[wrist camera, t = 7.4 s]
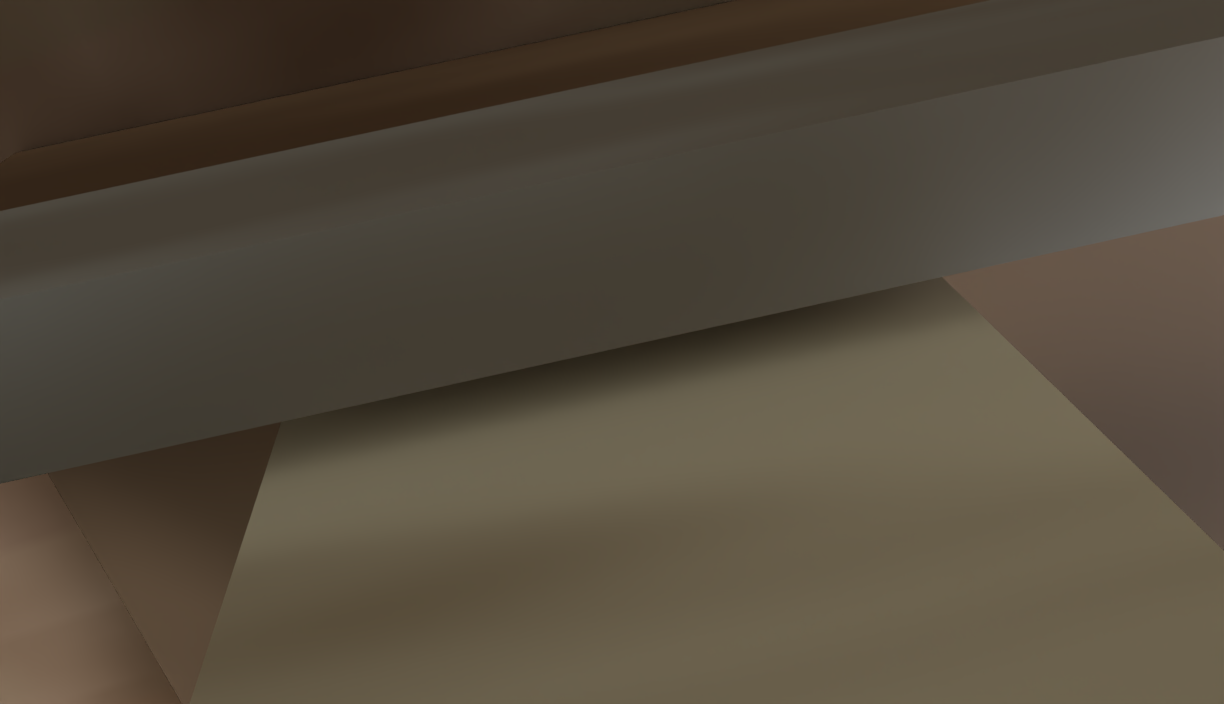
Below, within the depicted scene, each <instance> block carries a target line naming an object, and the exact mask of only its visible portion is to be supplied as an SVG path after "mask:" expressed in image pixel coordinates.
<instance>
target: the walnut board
mask: <svg viewBox="0 0 1224 704" xmlns="http://www.w3.org/2000/svg"><path fill="white" fill-rule="evenodd" d="M939 277H942V278H943V279H945V280H946V281H947V282H948V283H949V284H950V285H951V286H952V287H953V288H954V289H955V290H956V291H957V292H958V293H959V294H960V295H961V296H962V297H963V298H964V299H965V300H966V301H967V302H968V303H969V304H970V305H971V306H972V307H973V308H974V309H975V310H976V311H977V312H978V313H979V314H981V315H982V316H983V317H984V318H985V319H986V320H987V321H988V322H989V323H990V324H991V325H992V326H993V327H994V328H995V329H996V330H997V331H998V332H999V333H1000V334H1001V335H1002V336H1003V337H1004V338H1005V339H1006V340H1007V341H1008V342H1009V343H1010V344H1011V345H1012V346H1013V347H1014V348H1016V349H1017V350H1018V351H1019V352H1020V353H1021V354H1022V355H1023V356H1024V357H1025V358H1026V359H1027V360H1028V361H1029V362H1030V363H1031V364H1032V365H1033V366H1034V367H1035V368H1036V369H1037V370H1038V371H1039V372H1040V373H1041V374H1042V375H1043V376H1044V377H1045V378H1046V379H1047V380H1048V381H1049V382H1051V383H1052V384H1053V385H1054V386H1055V387H1056V388H1057V389H1058V390H1059V391H1060V392H1061V393H1062V394H1063V395H1064V396H1065V397H1066V398H1067V399H1068V400H1069V401H1070V402H1071V403H1072V404H1073V405H1074V406H1075V407H1076V408H1077V409H1078V410H1079V411H1080V412H1081V413H1082V414H1083V415H1084V416H1085V417H1087V418H1088V419H1089V420H1090V421H1091V422H1092V423H1093V424H1094V425H1095V426H1096V427H1097V428H1098V429H1099V430H1100V431H1101V432H1102V433H1103V434H1104V435H1105V436H1106V437H1107V438H1108V439H1109V440H1110V441H1111V442H1112V443H1113V444H1114V445H1115V446H1116V447H1117V448H1118V449H1119V450H1120V451H1122V452H1123V453H1124V454H1125V455H1126V456H1127V457H1128V458H1129V459H1130V460H1131V461H1132V462H1133V463H1134V464H1135V465H1136V466H1137V467H1138V468H1139V469H1140V470H1141V471H1142V472H1143V473H1144V474H1145V475H1146V476H1147V477H1148V478H1149V479H1150V480H1151V481H1152V482H1153V483H1154V484H1155V485H1156V486H1158V487H1159V488H1160V489H1161V490H1162V491H1163V492H1164V493H1165V494H1166V495H1167V496H1168V497H1169V498H1170V499H1171V500H1172V501H1173V502H1174V503H1175V504H1176V505H1177V506H1178V507H1179V508H1180V509H1181V510H1182V511H1183V512H1184V513H1185V514H1186V515H1187V516H1188V517H1189V518H1190V519H1191V520H1193V521H1194V522H1195V523H1196V524H1197V525H1198V526H1199V527H1200V528H1201V529H1202V530H1203V531H1204V532H1205V533H1206V534H1207V535H1208V536H1209V537H1210V538H1211V539H1212V540H1213V541H1214V542H1215V543H1216V544H1217V545H1218V546H1219V547H1220V548H1221V549H1222V550H1223V551H1224V0H735V1H730V2H726V3H721V4H716V5H711V6H707V7H702V8H697V9H693V10H688V11H683V12H678V13H674V14H669V15H664V16H660V17H655V18H650V19H645V20H641V21H636V22H631V23H626V24H622V25H617V26H612V27H608V28H603V29H598V30H593V31H589V32H584V33H579V34H575V35H570V36H565V37H560V38H556V39H551V40H546V41H541V42H537V43H532V44H527V45H523V46H518V47H513V48H508V49H504V50H499V51H494V52H490V53H485V54H480V55H475V56H471V57H466V58H461V59H456V60H452V61H447V62H442V63H438V64H433V65H428V66H423V67H419V68H414V69H409V70H405V71H400V72H395V73H390V74H386V75H381V76H376V77H371V78H367V79H362V80H357V81H353V82H348V83H343V84H338V85H334V86H329V87H324V88H320V89H315V90H310V91H305V92H301V93H296V94H291V95H286V96H282V97H277V98H272V99H268V100H263V101H258V102H253V103H249V104H244V105H239V106H235V107H230V108H225V109H220V110H216V111H211V112H206V113H201V114H197V115H192V116H187V117H183V118H178V119H173V120H168V121H164V122H159V123H154V124H150V125H145V126H140V127H135V128H131V129H126V130H121V131H116V132H112V133H107V134H102V135H98V136H93V137H88V138H83V139H79V140H74V141H69V142H65V143H60V144H55V145H50V146H46V147H41V148H36V149H31V150H27V151H22V152H17V153H14V154H13V155H12V156H10V157H9V158H7V159H6V160H5V161H3V162H2V163H1V164H0V483H5V482H9V481H14V480H19V479H23V478H28V477H32V476H37V475H41V474H46V473H48V475H49V476H50V478H51V480H52V482H53V483H54V485H55V487H56V488H57V490H58V492H59V494H60V495H61V497H62V499H63V500H64V502H65V504H66V506H67V507H68V509H69V511H70V513H71V514H72V516H73V518H74V519H75V521H76V523H77V525H78V526H79V528H80V530H81V531H82V533H83V535H84V537H85V538H86V540H87V542H88V543H89V545H90V547H91V549H92V550H93V552H94V554H95V555H96V557H97V559H98V561H99V562H100V564H101V566H102V568H103V569H104V571H105V573H106V574H107V576H108V578H109V580H110V581H111V583H112V585H113V586H114V588H115V590H116V592H117V593H118V595H119V597H120V598H121V600H122V602H123V604H124V605H125V607H126V609H127V611H128V612H129V614H130V616H131V617H132V619H133V621H134V623H135V624H136V626H137V628H138V629H139V631H140V633H141V635H142V636H143V638H144V640H145V641H146V643H147V645H148V647H149V648H150V650H151V652H152V653H153V655H154V657H155V659H156V660H157V662H158V664H159V666H160V667H161V669H162V671H163V672H164V674H165V676H166V678H167V679H168V681H169V683H170V684H171V686H172V688H173V690H174V691H175V693H176V695H177V696H178V698H179V700H180V702H181V703H182V704H190V701H191V698H192V695H193V692H194V689H195V686H196V682H197V679H198V676H199V673H200V670H201V667H202V664H203V661H204V658H205V655H206V652H207V649H208V646H209V643H210V640H211V636H212V633H213V630H214V627H215V624H216V621H217V618H218V615H219V612H220V609H221V606H222V603H223V600H224V597H225V593H226V590H227V587H228V584H229V581H230V578H231V575H232V572H233V569H234V566H235V563H236V560H237V557H238V554H239V551H240V547H241V544H242V541H243V538H244V535H245V532H246V529H247V526H248V523H249V520H250V517H251V514H252V511H253V508H254V504H255V501H256V498H257V495H258V492H259V489H260V486H261V483H262V480H263V477H264V474H265V471H266V468H267V465H268V462H269V458H270V455H271V452H272V449H273V446H274V443H275V440H276V437H277V434H278V431H279V428H280V425H281V422H283V421H288V420H292V419H297V418H301V417H306V416H310V415H315V414H319V413H324V412H329V411H333V410H338V409H342V408H347V407H351V406H356V405H360V404H365V403H370V402H374V401H379V400H383V399H388V398H392V397H397V396H401V395H406V394H411V393H415V392H420V391H424V390H429V389H433V388H438V387H443V386H447V385H452V384H456V383H461V382H465V381H470V380H474V379H479V378H484V377H488V376H493V375H497V374H502V373H506V372H511V371H515V370H520V369H525V368H529V367H534V366H538V365H543V364H547V363H552V362H556V361H561V360H566V359H570V358H575V357H579V356H584V355H588V354H593V353H598V352H602V351H607V350H611V349H616V348H620V347H625V346H629V345H634V344H639V343H643V342H648V341H652V340H657V339H661V338H666V337H670V336H675V335H680V334H684V333H689V332H693V331H698V330H702V329H707V328H711V327H716V326H721V325H725V324H730V323H734V322H739V321H743V320H748V319H753V318H757V317H762V316H766V315H771V314H775V313H780V312H784V311H789V310H794V309H798V308H803V307H807V306H812V305H816V304H821V303H825V302H830V301H835V300H839V299H844V298H848V297H853V296H857V295H862V294H866V293H871V292H876V291H880V290H885V289H889V288H894V287H898V286H903V285H908V284H912V283H917V282H921V281H926V280H930V279H935V278H939Z"/></svg>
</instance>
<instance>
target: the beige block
mask: <svg viewBox="0 0 1224 704" xmlns="http://www.w3.org/2000/svg"><path fill="white" fill-rule="evenodd" d="M190 704H1224V551H1223V550H1222V549H1221V548H1220V547H1219V546H1218V545H1217V544H1216V543H1215V542H1214V541H1213V540H1212V539H1211V538H1210V537H1209V536H1208V535H1207V534H1206V533H1205V532H1204V531H1203V530H1202V529H1201V528H1200V527H1199V526H1198V525H1197V524H1196V523H1195V522H1194V521H1193V520H1191V519H1190V518H1189V517H1188V516H1187V515H1186V514H1185V513H1184V512H1183V511H1182V510H1181V509H1180V508H1179V507H1178V506H1177V505H1176V504H1175V503H1174V502H1173V501H1172V500H1171V499H1170V498H1169V497H1168V496H1167V495H1166V494H1165V493H1164V492H1163V491H1162V490H1161V489H1160V488H1159V487H1158V486H1156V485H1155V484H1154V483H1153V482H1152V481H1151V480H1150V479H1149V478H1148V477H1147V476H1146V475H1145V474H1144V473H1143V472H1142V471H1141V470H1140V469H1139V468H1138V467H1137V466H1136V465H1135V464H1134V463H1133V462H1132V461H1131V460H1130V459H1129V458H1128V457H1127V456H1126V455H1125V454H1124V453H1123V452H1122V451H1120V450H1119V449H1118V448H1117V447H1116V446H1115V445H1114V444H1113V443H1112V442H1111V441H1110V440H1109V439H1108V438H1107V437H1106V436H1105V435H1104V434H1103V433H1102V432H1101V431H1100V430H1099V429H1098V428H1097V427H1096V426H1095V425H1094V424H1093V423H1092V422H1091V421H1090V420H1089V419H1088V418H1087V417H1085V416H1084V415H1083V414H1082V413H1081V412H1080V411H1079V410H1078V409H1077V408H1076V407H1075V406H1074V405H1073V404H1072V403H1071V402H1070V401H1069V400H1068V399H1067V398H1066V397H1065V396H1064V395H1063V394H1062V393H1061V392H1060V391H1059V390H1058V389H1057V388H1056V387H1055V386H1054V385H1053V384H1052V383H1051V382H1049V381H1048V380H1047V379H1046V378H1045V377H1044V376H1043V375H1042V374H1041V373H1040V372H1039V371H1038V370H1037V369H1036V368H1035V367H1034V366H1033V365H1032V364H1031V363H1030V362H1029V361H1028V360H1027V359H1026V358H1025V357H1024V356H1023V355H1022V354H1021V353H1020V352H1019V351H1018V350H1017V349H1016V348H1014V347H1013V346H1012V345H1011V344H1010V343H1009V342H1008V341H1007V340H1006V339H1005V338H1004V337H1003V336H1002V335H1001V334H1000V333H999V332H998V331H997V330H996V329H995V328H994V327H993V326H992V325H991V324H990V323H989V322H988V321H987V320H986V319H985V318H984V317H983V316H982V315H981V314H979V313H978V312H977V311H976V310H975V309H974V308H973V307H972V306H971V305H970V304H969V303H968V302H967V301H966V300H965V299H964V298H963V297H962V296H961V295H960V294H959V293H958V292H957V291H956V290H955V289H954V288H953V287H952V286H951V285H950V284H949V283H948V282H947V281H946V280H945V279H943V278H942V277H939V278H935V279H930V280H926V281H921V282H917V283H912V284H908V285H903V286H898V287H894V288H889V289H885V290H880V291H876V292H871V293H866V294H862V295H857V296H853V297H848V298H844V299H839V300H835V301H830V302H825V303H821V304H816V305H812V306H807V307H803V308H798V309H794V310H789V311H784V312H780V313H775V314H771V315H766V316H762V317H757V318H753V319H748V320H743V321H739V322H734V323H730V324H725V325H721V326H716V327H711V328H707V329H702V330H698V331H693V332H689V333H684V334H680V335H675V336H670V337H666V338H661V339H657V340H652V341H648V342H643V343H639V344H634V345H629V346H625V347H620V348H616V349H611V350H607V351H602V352H598V353H593V354H588V355H584V356H579V357H575V358H570V359H566V360H561V361H556V362H552V363H547V364H543V365H538V366H534V367H529V368H525V369H520V370H515V371H511V372H506V373H502V374H497V375H493V376H488V377H484V378H479V379H474V380H470V381H465V382H461V383H456V384H452V385H447V386H443V387H438V388H433V389H429V390H424V391H420V392H415V393H411V394H406V395H401V396H397V397H392V398H388V399H383V400H379V401H374V402H370V403H365V404H360V405H356V406H351V407H347V408H342V409H338V410H333V411H329V412H324V413H319V414H315V415H310V416H306V417H301V418H297V419H292V420H288V421H283V422H281V425H280V428H279V431H278V434H277V437H276V440H275V443H274V446H273V449H272V452H271V455H270V458H269V462H268V465H267V468H266V471H265V474H264V477H263V480H262V483H261V486H260V489H259V492H258V495H257V498H256V501H255V504H254V508H253V511H252V514H251V517H250V520H249V523H248V526H247V529H246V532H245V535H244V538H243V541H242V544H241V547H240V551H239V554H238V557H237V560H236V563H235V566H234V569H233V572H232V575H231V578H230V581H229V584H228V587H227V590H226V593H225V597H224V600H223V603H222V606H221V609H220V612H219V615H218V618H217V621H216V624H215V627H214V630H213V633H212V636H211V640H210V643H209V646H208V649H207V652H206V655H205V658H204V661H203V664H202V667H201V670H200V673H199V676H198V679H197V682H196V686H195V689H194V692H193V695H192V698H191V701H190Z"/></svg>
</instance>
